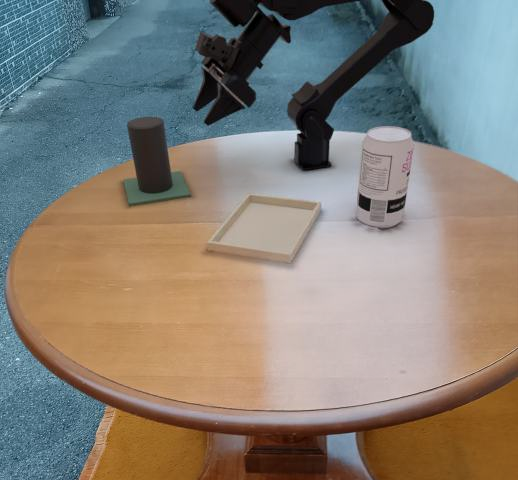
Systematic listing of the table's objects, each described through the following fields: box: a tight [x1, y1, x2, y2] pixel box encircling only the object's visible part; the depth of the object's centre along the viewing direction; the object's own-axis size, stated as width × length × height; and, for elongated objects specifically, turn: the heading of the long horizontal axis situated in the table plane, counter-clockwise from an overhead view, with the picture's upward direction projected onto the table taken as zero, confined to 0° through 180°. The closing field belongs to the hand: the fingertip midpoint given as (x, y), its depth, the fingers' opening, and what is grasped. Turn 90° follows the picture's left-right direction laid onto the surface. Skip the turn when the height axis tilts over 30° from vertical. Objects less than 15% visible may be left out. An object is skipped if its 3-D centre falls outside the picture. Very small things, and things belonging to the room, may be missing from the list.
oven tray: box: [206, 192, 322, 264], centre depth 93 cm, size 19×14×2 cm
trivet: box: [122, 170, 192, 207], centre depth 108 cm, size 12×12×1 cm
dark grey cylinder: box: [126, 116, 173, 194], centre depth 104 cm, size 7×7×13 cm
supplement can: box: [355, 125, 415, 230], centre depth 90 cm, size 8×8×15 cm
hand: (200, 116), depth 103 cm, fingers open, 9 cm apart
